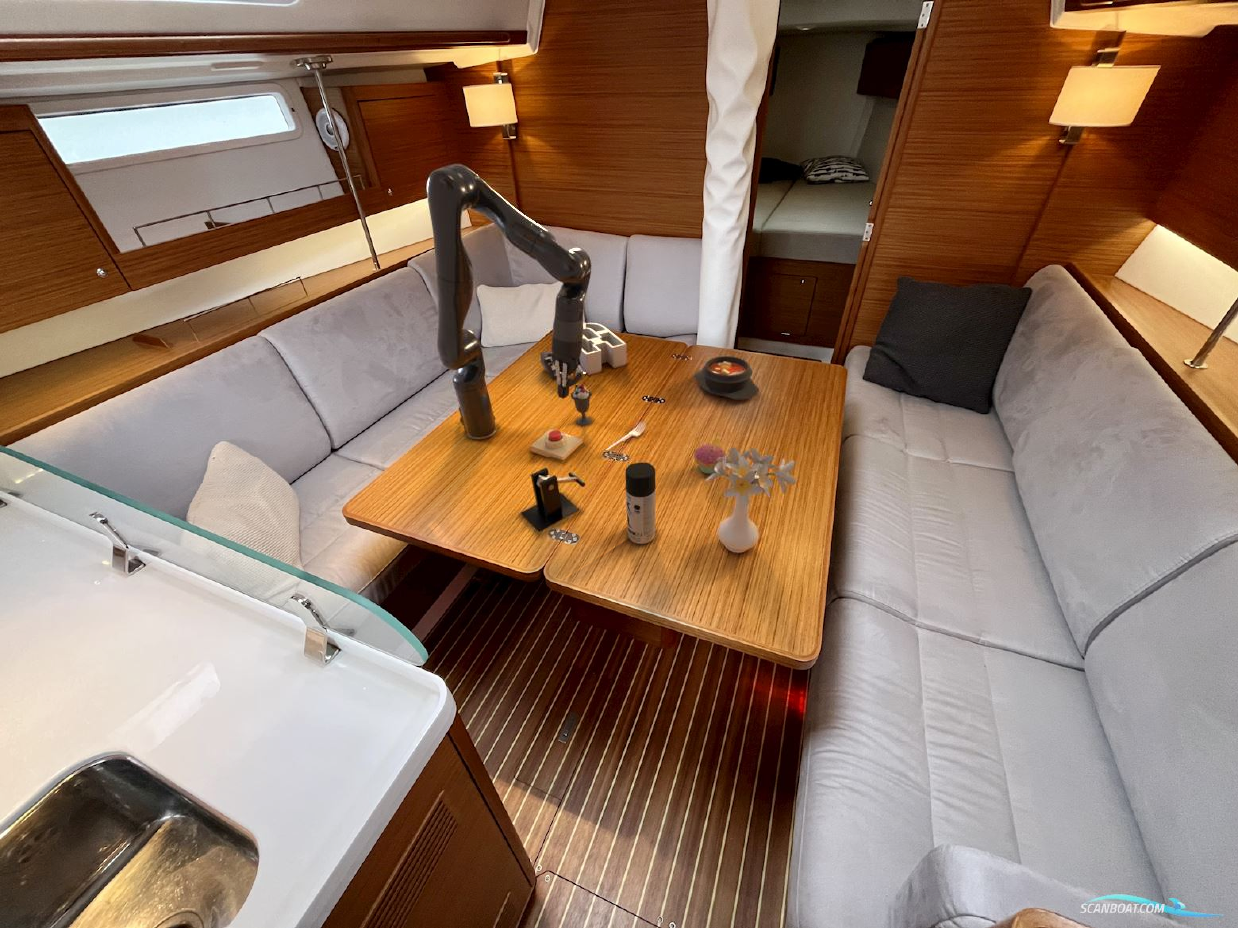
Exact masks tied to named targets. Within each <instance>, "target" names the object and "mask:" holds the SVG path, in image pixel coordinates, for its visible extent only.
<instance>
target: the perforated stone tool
mask: <svg viewBox="0 0 1238 928" xmlns="http://www.w3.org/2000/svg"><path fill="white" fill-rule="evenodd" d="M551 354H552V351H549V350H543V351H542V352H540V363H541V365H542V368H544V369H545V371H546V372H548V370H547V368H546V366H545V363H544V359H546V358H548V357H551ZM553 372H554V371H553ZM554 374H555V373H554Z"/></svg>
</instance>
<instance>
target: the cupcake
mask: <svg viewBox="0 0 1238 928" xmlns="http://www.w3.org/2000/svg"><path fill="white" fill-rule="evenodd" d="M719 440H720V434H718V435H717V436H716V438H715V442H714V444H711V443H710V444H708V443H706V444H701V445H700V446H699V447H697V448H696V449H695V451H694V453H693V458H694V462H695V463H696V464H698V466H699V468H700V469H699V470H700V471H701V472H702V473H704V474H708V475H712V474H714V473H717V472H716V471H715V466H716V464H717V463H718V462H717V458H720V457H725V455H726V452H725V450H724V449H722V448H721V447H720V446H718V444H719ZM721 464H722V463H721Z"/></svg>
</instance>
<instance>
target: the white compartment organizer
mask: <svg viewBox="0 0 1238 928" xmlns="http://www.w3.org/2000/svg"><path fill="white" fill-rule="evenodd" d="M580 362H581V365H580V366H581V368H582V369H583V370H586V371H587V375H589V376H590V375H593V374H598V373H601V372H602V369H603V368H602V367H603V366H602V364H606V363H608V365H610V366H611V367H612V368H614V369H615V368H619V367H624V366H626V365H627V343H626V342H625V341H624V340H622V339H621V338H620V337H618V336H617V335H616V334H614V333H613V331H611V330H610V329H608V328H607V327H605V326H604V325H603V324H600V323H596V322H583V338H582V349H581V355H580Z"/></svg>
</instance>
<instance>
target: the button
mask: <svg viewBox="0 0 1238 928" xmlns="http://www.w3.org/2000/svg"><path fill="white" fill-rule="evenodd" d="M553 430H554V429H553ZM561 432H562V431H560V430H558V429H557V430H554V431H551V432H550V433H549V439H550V441H552V442H557V441H559V440H561V439H562V437H561Z"/></svg>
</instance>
